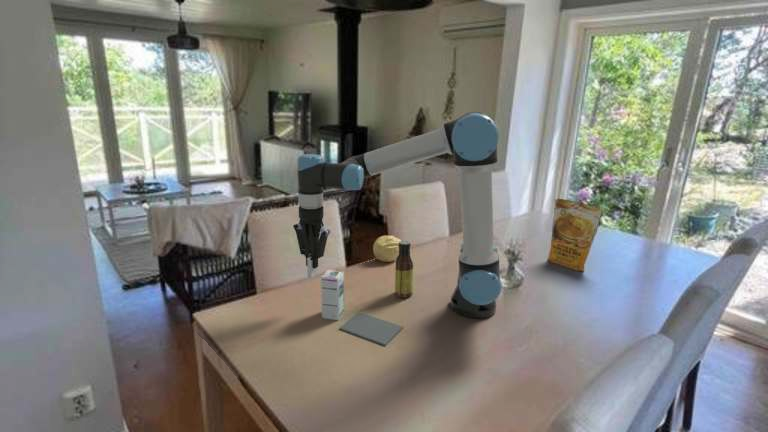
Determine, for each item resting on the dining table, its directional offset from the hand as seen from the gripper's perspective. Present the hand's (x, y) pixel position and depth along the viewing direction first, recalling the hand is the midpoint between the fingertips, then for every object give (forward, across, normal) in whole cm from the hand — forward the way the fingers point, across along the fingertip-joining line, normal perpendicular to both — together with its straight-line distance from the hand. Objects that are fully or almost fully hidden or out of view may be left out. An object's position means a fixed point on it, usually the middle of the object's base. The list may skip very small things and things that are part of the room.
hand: (312, 276), depth 131 cm
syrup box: (+12, -8, 0) cm, 14 cm away
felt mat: (+11, -23, 0) cm, 25 cm away
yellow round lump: (+12, 0, -50) cm, 51 cm away
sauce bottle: (+12, -21, -25) cm, 34 cm away
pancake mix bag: (+12, -68, -89) cm, 112 cm away
